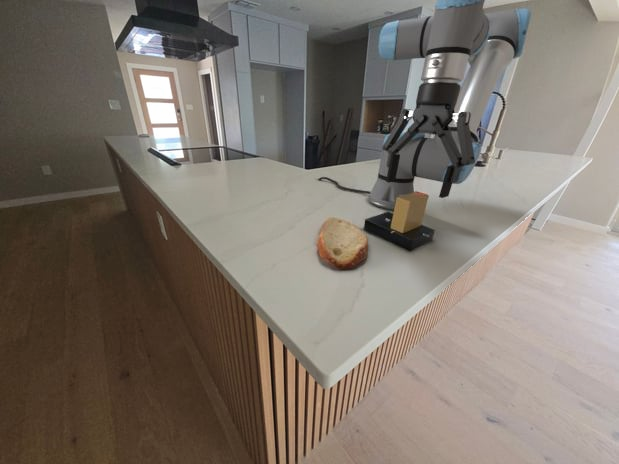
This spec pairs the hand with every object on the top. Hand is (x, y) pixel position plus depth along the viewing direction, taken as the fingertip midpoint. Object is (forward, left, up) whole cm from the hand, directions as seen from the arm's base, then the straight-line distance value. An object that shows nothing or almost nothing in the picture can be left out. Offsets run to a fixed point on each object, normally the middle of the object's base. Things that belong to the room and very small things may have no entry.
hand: (414, 188), depth 59 cm
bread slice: (-1, -18, -13) cm, 22 cm away
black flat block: (-2, -1, -13) cm, 13 cm away
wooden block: (0, 0, -10) cm, 10 cm away
